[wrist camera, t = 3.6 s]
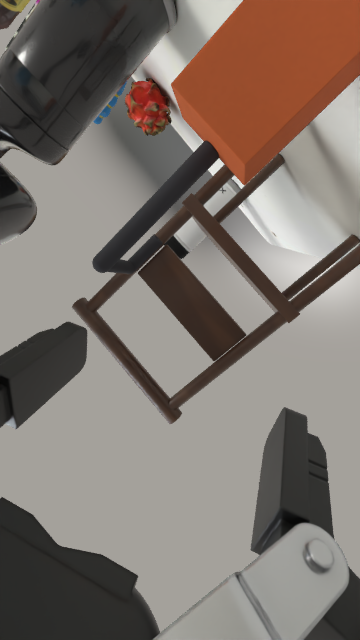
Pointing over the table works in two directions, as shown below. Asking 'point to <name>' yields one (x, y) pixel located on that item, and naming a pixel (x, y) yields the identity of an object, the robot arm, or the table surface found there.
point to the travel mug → (190, 230)
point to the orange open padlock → (250, 98)
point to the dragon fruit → (148, 107)
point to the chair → (199, 305)
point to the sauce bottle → (10, 11)
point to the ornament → (109, 106)
